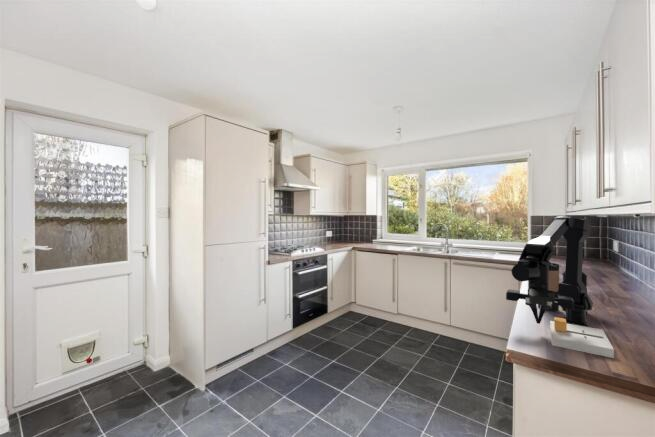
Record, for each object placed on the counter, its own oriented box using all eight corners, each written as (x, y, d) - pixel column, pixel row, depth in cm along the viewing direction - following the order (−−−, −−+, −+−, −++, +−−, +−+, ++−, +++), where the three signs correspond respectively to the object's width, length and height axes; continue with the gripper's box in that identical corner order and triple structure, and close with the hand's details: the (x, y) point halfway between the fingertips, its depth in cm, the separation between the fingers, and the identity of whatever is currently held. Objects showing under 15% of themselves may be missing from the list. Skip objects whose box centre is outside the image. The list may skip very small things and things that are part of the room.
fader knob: (554, 326, 98) (554, 317, 98) (565, 328, 96) (565, 318, 96) (554, 330, 95) (554, 320, 95) (566, 332, 93) (566, 322, 93)
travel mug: (537, 305, 131) (537, 261, 130) (559, 308, 126) (559, 263, 126) (536, 309, 125) (536, 263, 125) (559, 313, 120) (559, 265, 120)
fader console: (549, 327, 104) (549, 320, 104) (602, 336, 96) (602, 329, 96) (551, 345, 90) (551, 336, 90) (613, 358, 82) (613, 349, 81)
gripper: (504, 279, 98) (504, 324, 98) (576, 286, 87) (576, 337, 87) (507, 274, 107) (507, 315, 107) (572, 280, 96) (572, 326, 96)
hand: (538, 323), depth 99 cm, fingers closed
